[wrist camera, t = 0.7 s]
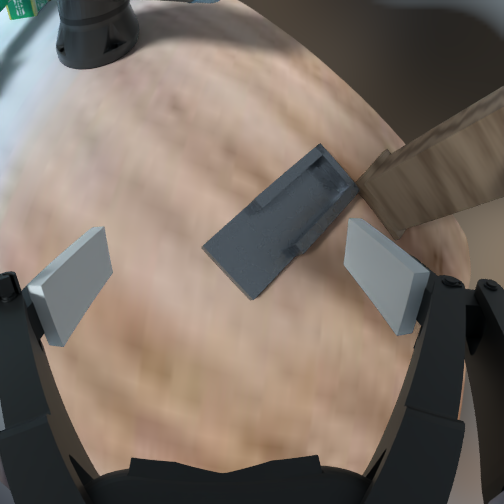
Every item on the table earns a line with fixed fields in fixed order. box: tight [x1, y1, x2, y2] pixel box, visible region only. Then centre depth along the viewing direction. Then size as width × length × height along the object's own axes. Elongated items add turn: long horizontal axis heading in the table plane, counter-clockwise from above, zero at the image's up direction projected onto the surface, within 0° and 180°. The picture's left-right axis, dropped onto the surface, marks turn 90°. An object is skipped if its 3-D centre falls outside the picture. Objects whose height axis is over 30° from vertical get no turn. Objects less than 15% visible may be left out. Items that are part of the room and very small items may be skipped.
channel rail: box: [202, 144, 360, 300], centre depth 39 cm, size 22×9×4 cm, turn 135°
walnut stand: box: [355, 86, 504, 240], centre depth 33 cm, size 12×12×32 cm
